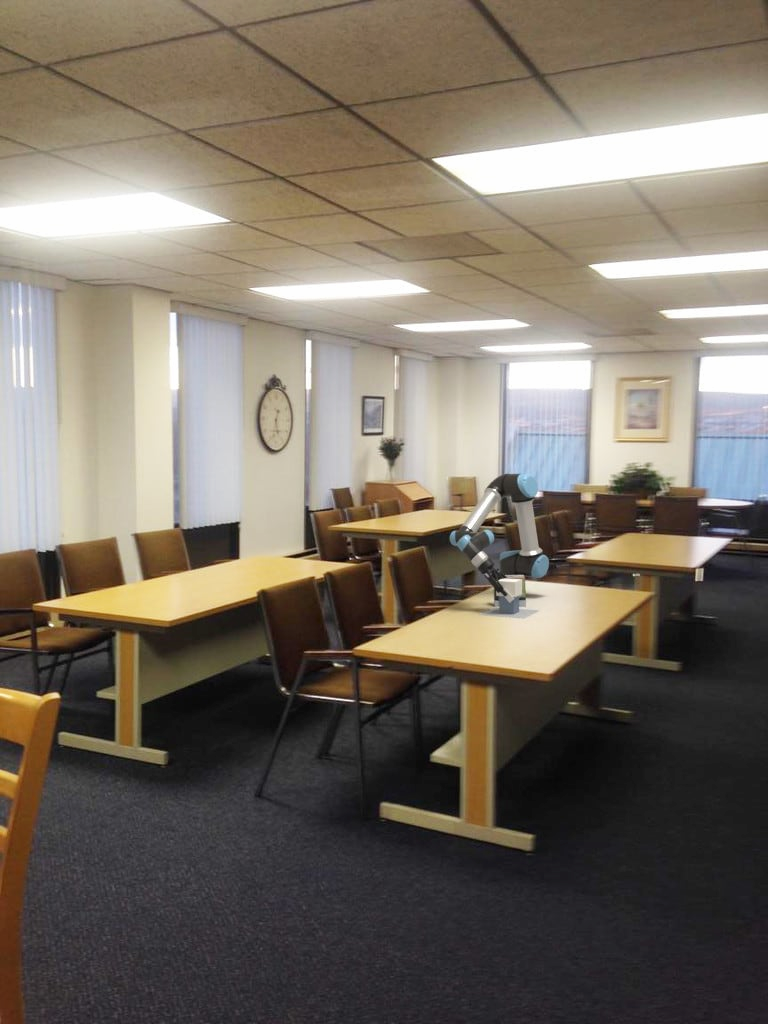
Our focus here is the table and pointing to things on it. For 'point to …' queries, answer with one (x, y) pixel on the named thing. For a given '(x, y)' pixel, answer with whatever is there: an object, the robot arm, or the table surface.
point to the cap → (511, 586)
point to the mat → (521, 614)
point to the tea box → (523, 598)
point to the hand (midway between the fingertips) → (515, 599)
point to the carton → (508, 605)
